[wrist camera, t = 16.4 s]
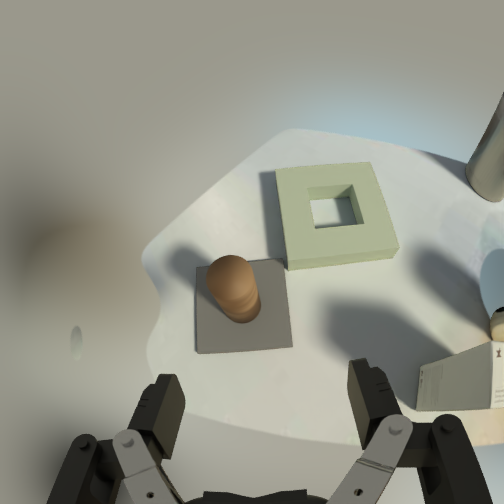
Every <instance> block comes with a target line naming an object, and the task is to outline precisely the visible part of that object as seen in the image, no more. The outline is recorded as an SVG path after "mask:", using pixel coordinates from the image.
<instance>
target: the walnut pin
mask: <svg viewBox="0 0 504 504" xmlns="http://www.w3.org/2000/svg"><path fill="white" fill-rule="evenodd" d="M206 284H207V287H208V289H209V291H210V292H211V294H212V295H213V296H214V298H215V299H216V301H217V302H218V304H219V305H220V307H221V308H222V309H223V311H224V312H225V314H226V315H227V316H228V318H229V319H230V320H232V321H233V322H236V323H240V324H244V323H248V322H251V321H252V320H254V319H255V318H256V317H257V316H258V314H259V312H260V310H261V301H260V297H259V293H258V289H257V285H256V282H255V278H254V274H253V270H252V268H251V266H250V264H249V263H248V262H247V261H246V260H245V259H243V258H241V257H239V256H235V255H227V256H223V257H221V258H219V259H217V260H216V261H214V262H213V263H212V264H211V265H210V267H209V269H208V271H207V274H206Z"/></svg>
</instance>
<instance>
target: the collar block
mask: <svg viewBox="0 0 504 504" xmlns="http://www.w3.org/2000/svg"><path fill="white" fill-rule="evenodd" d="M275 174H276V185H277V192H278V199H279V206H280V213H281V220H282V227H283V234H284V242H285V249H286V257H287V265H288V271H290V270H299V269H308V268H317V267H325V266H334V265H342V264H350V263H358V262H366V261H374V260H382V259H390V258H393V257H394V255H395V254H396V252H397V251H398V250H399V248H400V247H399V244H398V240H397V237H396V234H395V231H394V227H393V224H392V221H391V218H390V215H389V212H388V209H387V206H386V203H385V200H384V198H383V195H382V192H381V189H380V186H379V184H378V181H377V178H376V176H375V173H374V171H373V168H372V166H371V163H370V162H363V163H345V164H330V165H317V166H305V167H294V168H284V169H275ZM342 197H350V201H351V204H352V208H353V211H354V215H355V219H356V222H357V225H349V226H339V227H329V228H319V229H315V225H314V220H313V215H312V210H311V205H310V200H319V199H330V198H342Z"/></svg>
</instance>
